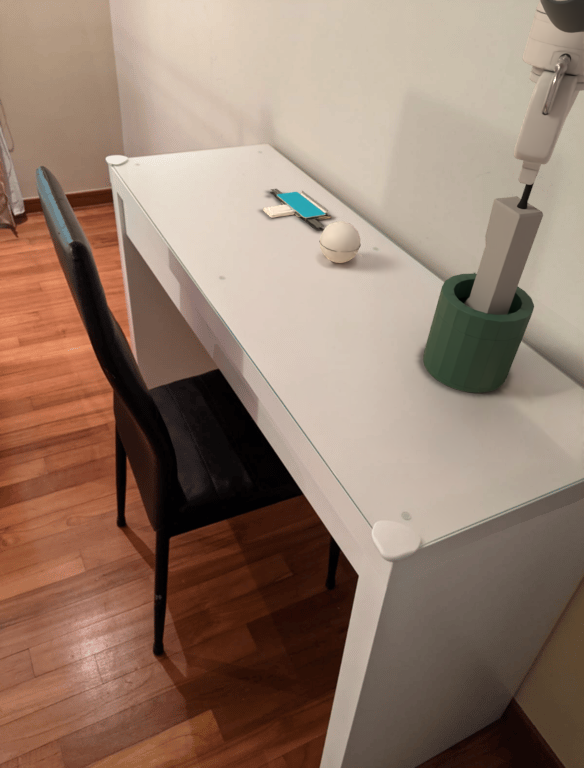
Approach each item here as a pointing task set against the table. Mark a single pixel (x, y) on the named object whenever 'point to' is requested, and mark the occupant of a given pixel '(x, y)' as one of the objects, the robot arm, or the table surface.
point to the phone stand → (298, 208)
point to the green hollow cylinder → (473, 338)
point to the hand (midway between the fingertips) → (527, 179)
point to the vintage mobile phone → (504, 253)
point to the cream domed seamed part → (340, 242)
